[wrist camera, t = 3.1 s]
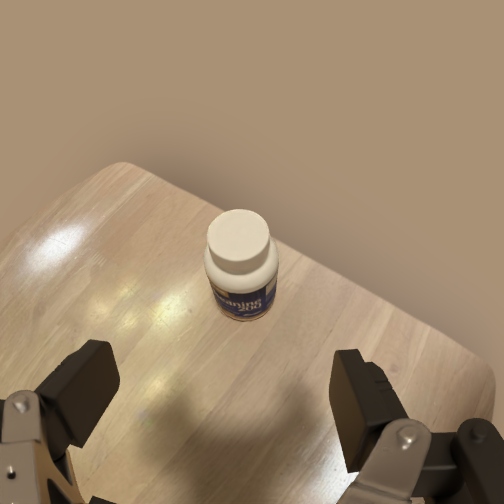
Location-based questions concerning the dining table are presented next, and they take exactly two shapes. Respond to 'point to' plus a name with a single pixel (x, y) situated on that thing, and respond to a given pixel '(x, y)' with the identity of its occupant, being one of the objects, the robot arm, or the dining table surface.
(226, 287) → the pill bottle
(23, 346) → the dining table surface
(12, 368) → the dining table surface
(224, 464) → the dining table surface
